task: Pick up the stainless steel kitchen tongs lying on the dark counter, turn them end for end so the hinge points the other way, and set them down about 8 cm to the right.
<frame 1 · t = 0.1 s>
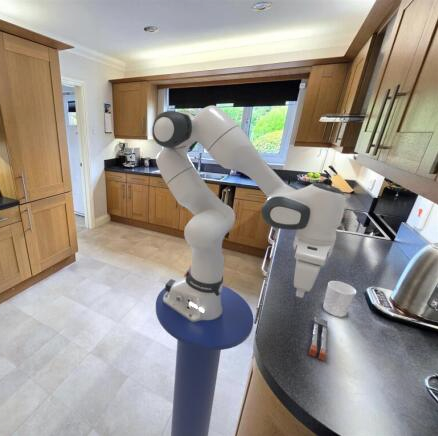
hand: (301, 287, 70), 19 cm above the worktop, tool pointing down, fingers open, 8 cm apart
coffee can: (311, 233, 155), on the worktop
white cup: (334, 310, 88), on the worktop
tongs: (317, 340, 75), on the worktop
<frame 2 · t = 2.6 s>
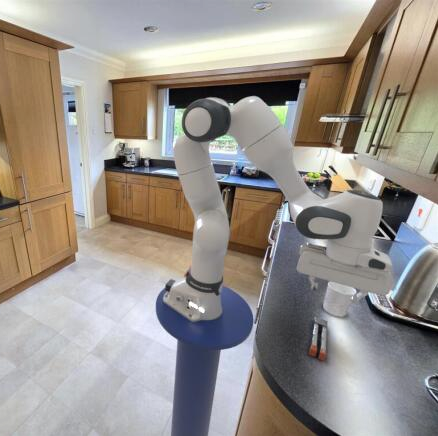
hand: (333, 294, 69), 17 cm above the worktop, tool pointing down, fingers open, 8 cm apart
nothing on the worktop moved.
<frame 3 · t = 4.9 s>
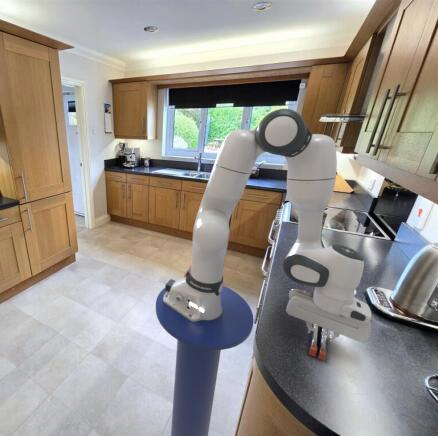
hand: (319, 336, 74), 2 cm above the worktop, tool pointing down, fingers closed on tongs, 3 cm apart
tongs: (317, 340, 75), on the worktop, touching gripper
everything else where it was.
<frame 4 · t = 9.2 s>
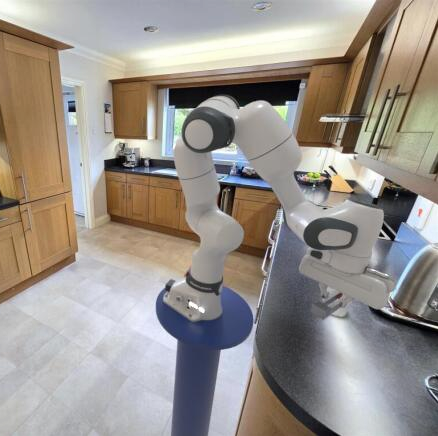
hand: (332, 301, 70), 15 cm above the worktop, tool pointing down, fingers closed on tongs, 3 cm apart
tongs: (331, 306, 70), point 13 cm above the worktop, touching gripper
everything else where it was.
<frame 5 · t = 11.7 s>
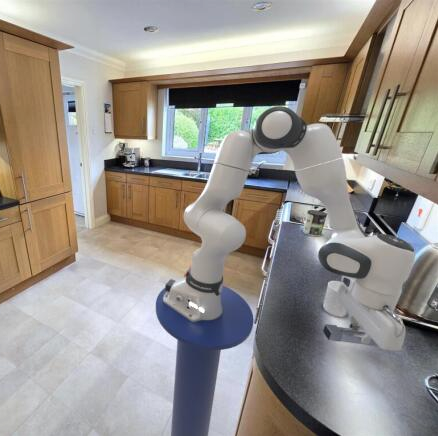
hand: (358, 334, 69), 7 cm above the worktop, tool pointing down, fingers closed on tongs, 3 cm apart
tongs: (356, 339, 69), point 5 cm above the worktop, touching gripper
everything else where it was.
when the fingers open (2 cm above the worktop, at t = 13.3 s): tongs stays where it is, on the worktop.
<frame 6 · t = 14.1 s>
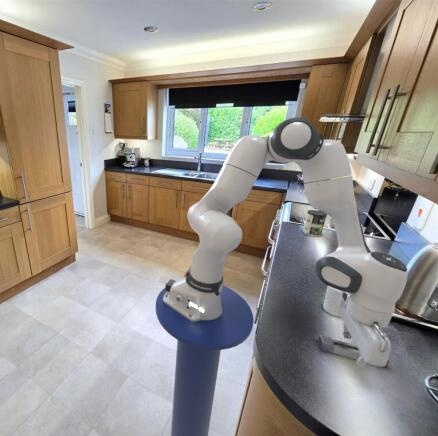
hand: (352, 349, 70), 2 cm above the worktop, tool pointing down, fingers open, 8 cm apart
tongs: (350, 353, 71), on the worktop
everything else where it was.
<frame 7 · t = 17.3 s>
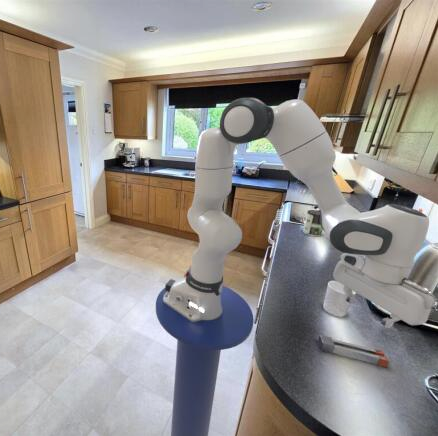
hand: (366, 312, 66), 15 cm above the worktop, tool pointing down, fingers open, 8 cm apart
nothing on the worktop moved.
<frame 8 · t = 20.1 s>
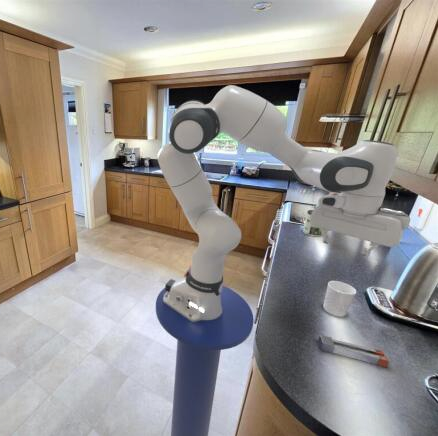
hand: (344, 248, 70), 29 cm above the worktop, tool pointing down, fingers open, 8 cm apart
nothing on the worktop moved.
at the end: tongs 0.3 cm from the target spot, on the worktop; tongs tilted 0°; the gripper is holding nothing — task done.
